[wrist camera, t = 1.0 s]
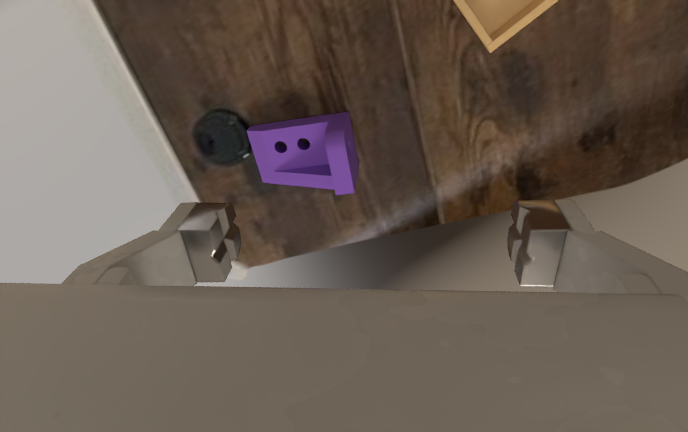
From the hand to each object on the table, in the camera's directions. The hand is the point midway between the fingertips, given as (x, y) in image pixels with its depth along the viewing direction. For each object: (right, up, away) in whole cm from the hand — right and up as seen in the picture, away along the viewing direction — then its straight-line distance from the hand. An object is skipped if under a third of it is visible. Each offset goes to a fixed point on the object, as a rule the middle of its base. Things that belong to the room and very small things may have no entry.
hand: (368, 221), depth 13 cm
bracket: (-5, +9, +40) cm, 41 cm away
